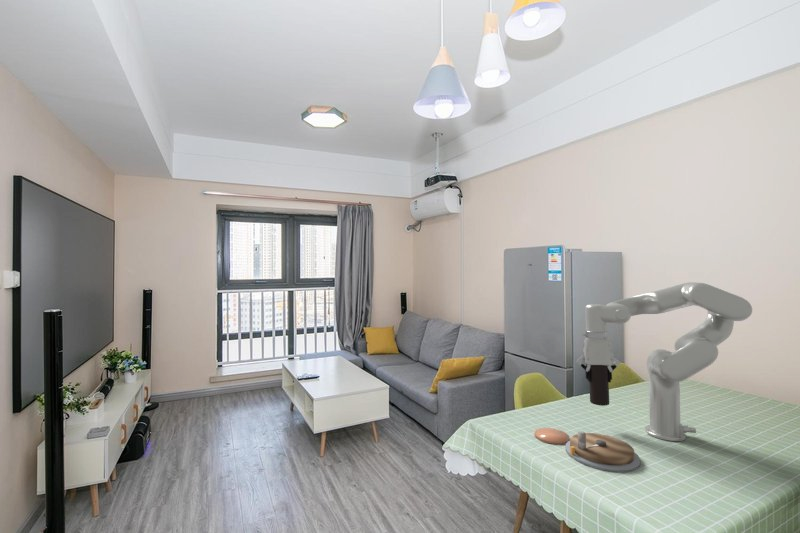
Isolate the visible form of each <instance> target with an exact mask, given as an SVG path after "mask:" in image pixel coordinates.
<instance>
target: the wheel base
mask: <svg viewBox="0 0 800 533" xmlns="http://www.w3.org/2000/svg"><path fill="white" fill-rule="evenodd" d="M565 452H566V454H567V455H568V457H570V458H571V459H573V460H574V461H575V462H578V463H579V464H582V465H584V466H586V467H590V468H593V469H597V470H601V471H604V472H605V471H607V472H614V473H615V472H616V473H617V472H618V473H624V472H632V471H635V470H636V469H637V470H638V468H639V467H640V466H641V459H640V457H639V455H638V454H637V453H636V452H635V451H634V461H633V462H631V463H629V464H625V465H608V464H602V463H597V462H594V461H590V460H588V459H585V458H583V457H581V456H579V455H577V454H576V453H575V447H573V446H570V440H569V441H568V442H567V443H565Z"/></svg>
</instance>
